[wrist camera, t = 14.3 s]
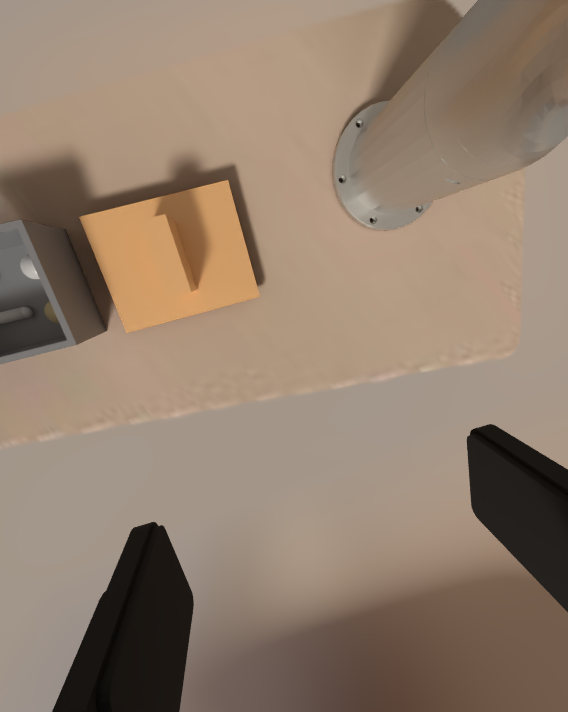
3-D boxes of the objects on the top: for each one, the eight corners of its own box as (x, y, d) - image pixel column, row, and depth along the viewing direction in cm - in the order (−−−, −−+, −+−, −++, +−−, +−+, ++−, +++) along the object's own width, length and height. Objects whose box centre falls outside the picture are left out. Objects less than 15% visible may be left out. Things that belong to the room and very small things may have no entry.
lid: (228, 185, 34) (226, 165, 28) (258, 295, 37) (262, 300, 31) (88, 219, 33) (53, 208, 27) (132, 329, 36) (110, 342, 30)
